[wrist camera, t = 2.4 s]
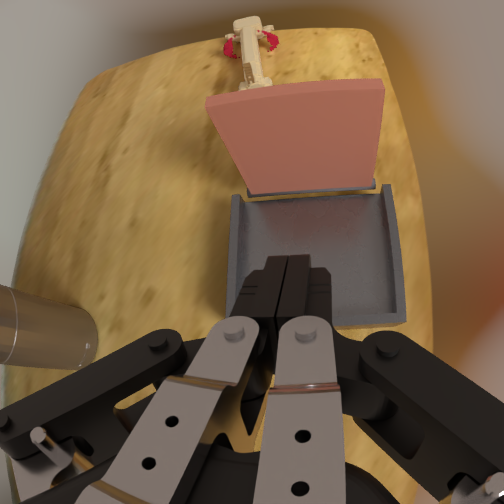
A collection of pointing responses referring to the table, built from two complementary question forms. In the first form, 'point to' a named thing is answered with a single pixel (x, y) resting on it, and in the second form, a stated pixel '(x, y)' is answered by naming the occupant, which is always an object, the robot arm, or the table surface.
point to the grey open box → (327, 251)
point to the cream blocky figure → (250, 50)
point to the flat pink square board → (302, 135)
